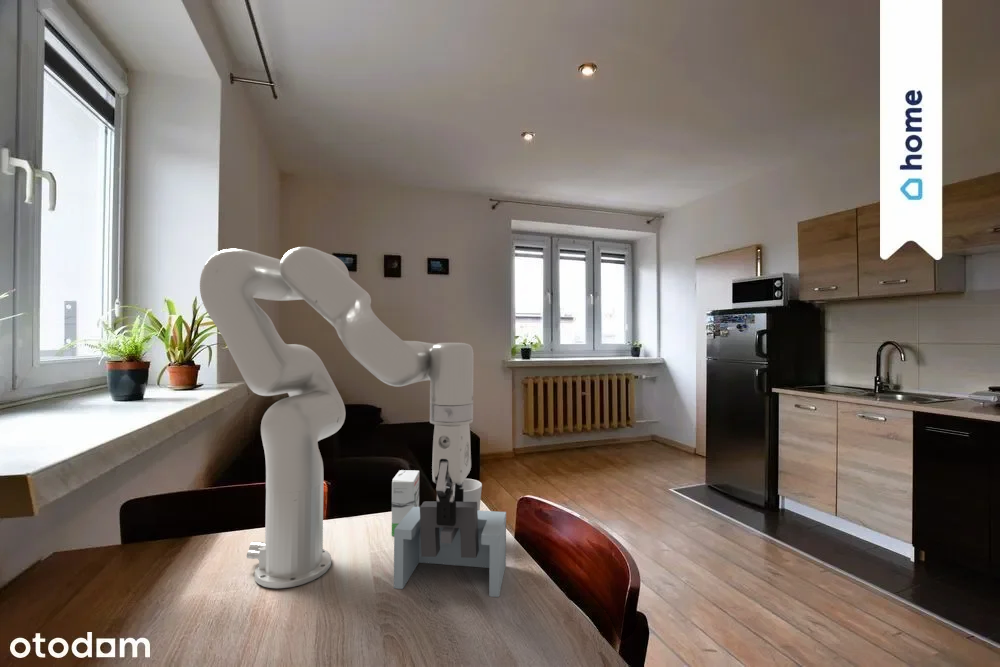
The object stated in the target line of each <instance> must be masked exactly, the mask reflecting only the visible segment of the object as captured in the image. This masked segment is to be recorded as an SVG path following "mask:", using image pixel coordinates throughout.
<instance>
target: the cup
mask: <svg viewBox="0 0 1000 667" xmlns="http://www.w3.org/2000/svg"><path fill="white" fill-rule="evenodd" d="M446 487H447V488H450V487H448V486H446ZM482 488H483V483H482V482H481V481H479V480H477V479H472V478H465V480H464V481H463V488H460V489H464V495H463V502H477V510H480V511H481V509H480V508H481V500H482Z"/></svg>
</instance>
